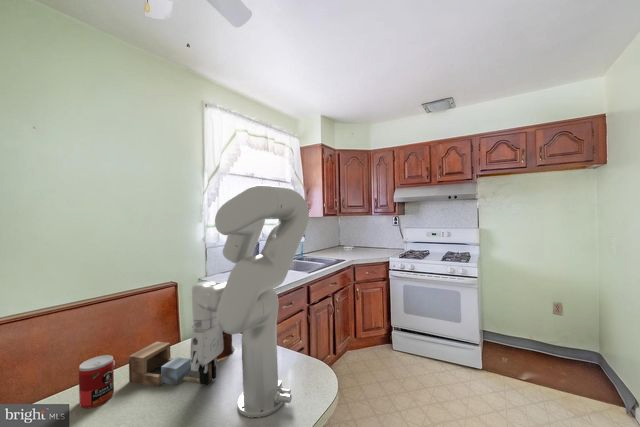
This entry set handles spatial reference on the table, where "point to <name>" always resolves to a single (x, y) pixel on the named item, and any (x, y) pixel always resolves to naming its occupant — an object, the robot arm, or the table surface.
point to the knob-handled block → (180, 371)
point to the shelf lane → (149, 363)
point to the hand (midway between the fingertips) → (208, 380)
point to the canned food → (96, 381)
